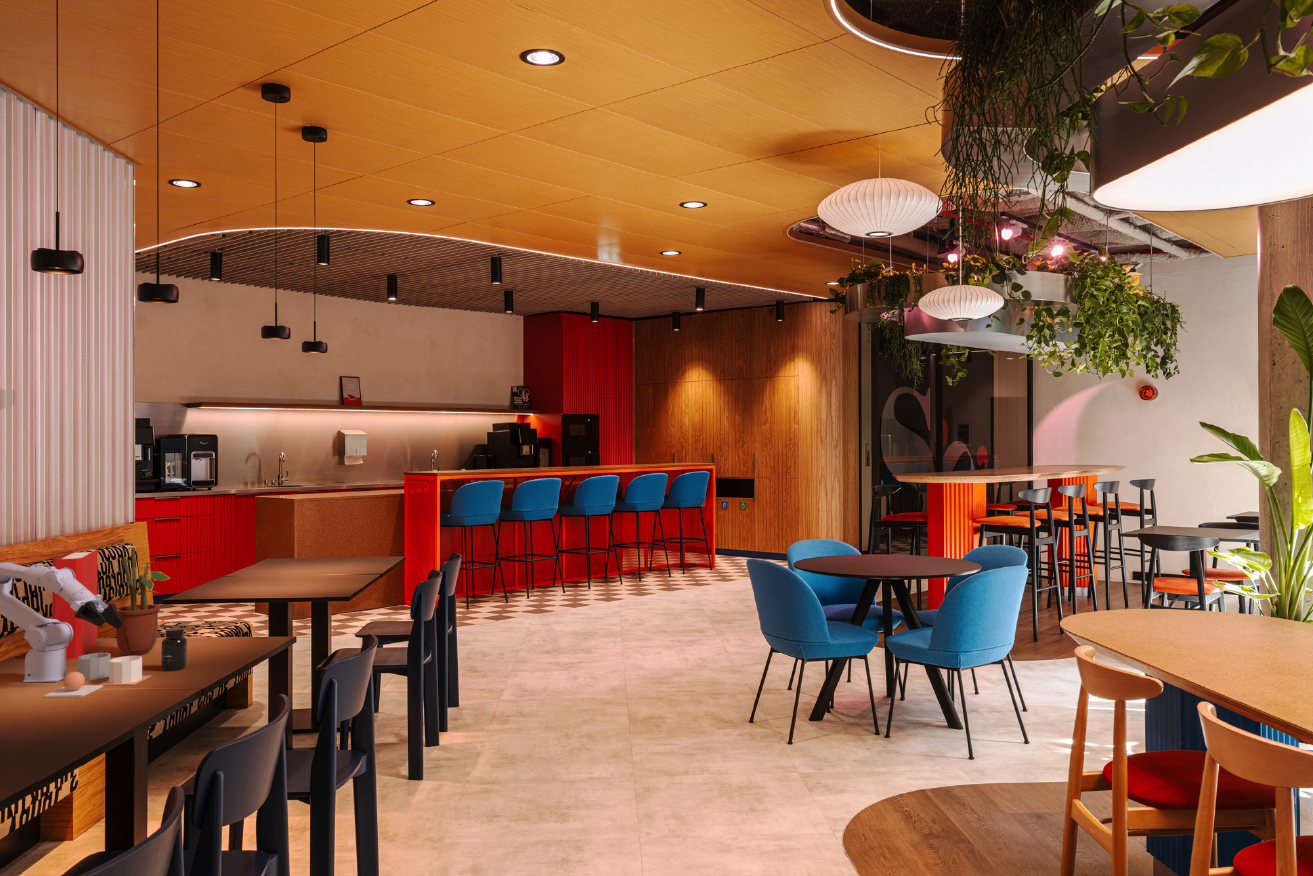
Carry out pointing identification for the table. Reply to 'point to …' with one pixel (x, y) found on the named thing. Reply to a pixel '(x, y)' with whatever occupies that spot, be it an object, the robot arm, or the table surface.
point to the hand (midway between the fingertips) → (111, 624)
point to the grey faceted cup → (94, 665)
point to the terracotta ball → (73, 681)
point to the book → (61, 610)
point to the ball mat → (76, 693)
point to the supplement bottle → (174, 650)
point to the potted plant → (138, 613)
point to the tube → (125, 671)
